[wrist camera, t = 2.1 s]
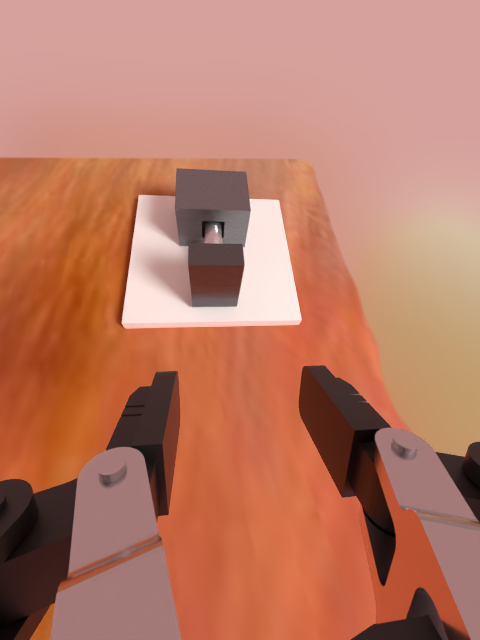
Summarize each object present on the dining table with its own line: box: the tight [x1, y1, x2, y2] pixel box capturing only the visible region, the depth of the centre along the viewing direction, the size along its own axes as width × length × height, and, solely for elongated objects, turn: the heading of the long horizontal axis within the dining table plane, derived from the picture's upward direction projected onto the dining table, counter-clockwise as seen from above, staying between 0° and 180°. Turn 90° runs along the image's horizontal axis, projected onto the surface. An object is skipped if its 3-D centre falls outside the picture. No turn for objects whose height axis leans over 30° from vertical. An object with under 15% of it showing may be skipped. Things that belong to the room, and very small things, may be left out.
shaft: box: [188, 221, 245, 307], centre depth 37 cm, size 6×20×9 cm, turn 4°
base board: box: [122, 195, 302, 328], centre depth 42 cm, size 24×24×2 cm
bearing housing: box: [175, 169, 251, 247], centre depth 41 cm, size 10×8×7 cm
